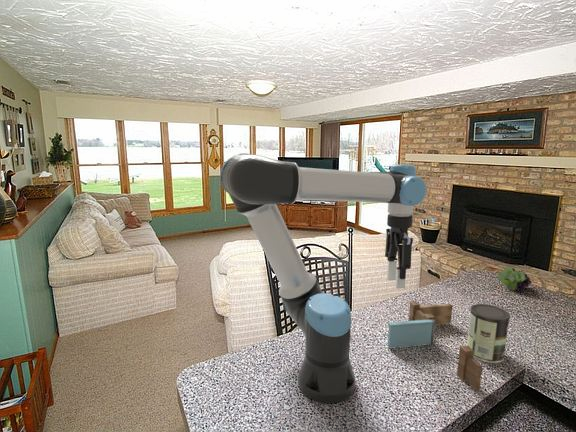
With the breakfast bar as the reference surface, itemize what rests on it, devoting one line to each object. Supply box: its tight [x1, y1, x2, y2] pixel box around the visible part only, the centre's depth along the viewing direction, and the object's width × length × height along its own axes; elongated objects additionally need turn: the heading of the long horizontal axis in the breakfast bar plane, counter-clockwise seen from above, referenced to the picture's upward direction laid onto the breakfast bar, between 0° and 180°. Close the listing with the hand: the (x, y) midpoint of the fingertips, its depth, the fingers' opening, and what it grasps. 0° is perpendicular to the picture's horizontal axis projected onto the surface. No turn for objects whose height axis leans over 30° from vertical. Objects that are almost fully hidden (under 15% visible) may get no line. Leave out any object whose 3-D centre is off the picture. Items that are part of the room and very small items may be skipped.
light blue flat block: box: [387, 319, 436, 349], centre depth 107 cm, size 15×2×8 cm, turn 98°
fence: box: [408, 301, 483, 391], centre depth 104 cm, size 15×34×9 cm, turn 8°
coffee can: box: [466, 303, 511, 364], centre depth 103 cm, size 10×10×14 cm
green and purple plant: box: [497, 266, 532, 292], centre depth 151 cm, size 10×11×15 cm
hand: (395, 283), depth 110 cm, fingers open, 6 cm apart
